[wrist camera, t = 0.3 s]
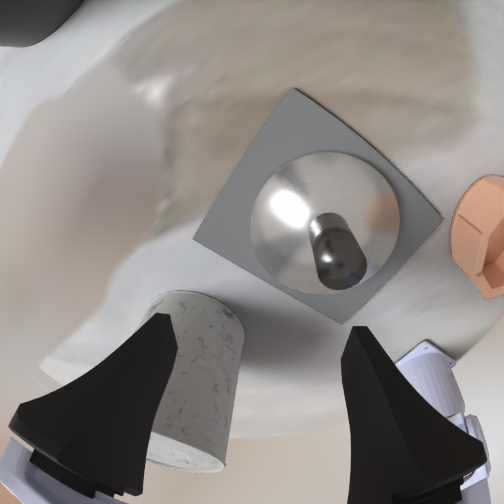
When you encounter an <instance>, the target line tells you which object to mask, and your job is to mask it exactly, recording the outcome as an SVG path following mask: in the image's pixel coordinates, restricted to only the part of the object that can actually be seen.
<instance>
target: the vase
mask: <svg viewBox="0 0 504 504" xmlns="http://www.w3.org/2000/svg"><path fill="white" fill-rule="evenodd" d="M83 1H84V0H0V46H10V47H28V46H31V45H34V44H36V43H38V42H40V41H41V40H43V39H45V38H46V37H47V36H49V35H50V34H51V33H53V32H54V31H55V30H56V29H57V28H58V27H59V26H61V25H62V24H63V23H64V22H65V21H66V20H67V19H68V18H69V17H70V16H71V15H72V13H73V12H74V11H75V10H76V9H77V8H78V7H79V6H80V4H81V3H82V2H83Z"/></svg>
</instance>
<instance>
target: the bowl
mask: <svg viewBox="0 0 504 504" xmlns="http://www.w3.org/2000/svg"><path fill="white" fill-rule="evenodd" d="M449 242H450V251H451V254H452V257H453V260H454V261H455V262H456V264H457V265H458V266H459V267H460V268H461V269H462V271H463V272H464V273H465V274H466V276H467V277H468V278H469V280H470V281H471V282H472V283H473V284H474V286H475V287H476V288H477V289H478V291H479V292H480V293H481V295H482V296H483V297H484V299H485V300H488V299H491V298H494V297H496V296H499V295H502V294H504V177H500V176H498V175H486V176H483V177H481V178H479V179H478V180H476V181H475V182H474V183H473V184H472V185H471V186H470V187H469V188H468V189H467V190H466V192H465V193H464V194H463V196H462V198H461V199H460V201H459V203H458V205H457V207H456V210H455V212H454V215H453V218H452V223H451V228H450V237H449Z"/></svg>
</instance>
